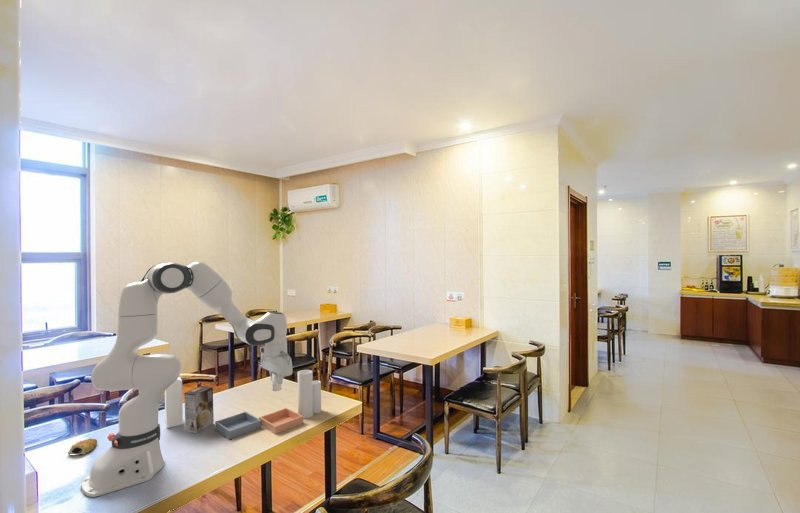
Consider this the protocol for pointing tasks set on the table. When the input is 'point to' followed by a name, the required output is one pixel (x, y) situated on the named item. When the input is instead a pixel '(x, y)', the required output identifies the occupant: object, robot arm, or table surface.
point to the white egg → (275, 382)
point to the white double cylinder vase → (308, 394)
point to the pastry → (83, 446)
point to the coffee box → (198, 409)
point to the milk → (174, 404)
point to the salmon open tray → (281, 420)
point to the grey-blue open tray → (237, 425)
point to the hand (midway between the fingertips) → (276, 382)
